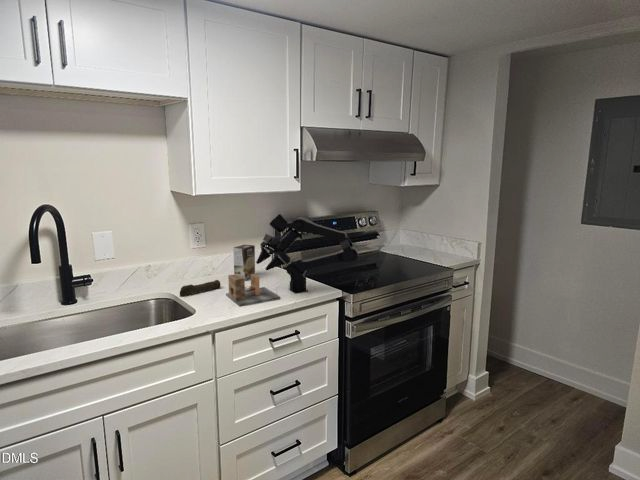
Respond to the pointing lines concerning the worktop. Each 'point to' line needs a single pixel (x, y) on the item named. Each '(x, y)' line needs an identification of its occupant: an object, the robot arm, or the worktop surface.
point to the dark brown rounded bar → (199, 288)
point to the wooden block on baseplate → (247, 298)
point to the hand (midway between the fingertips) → (261, 266)
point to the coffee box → (244, 261)
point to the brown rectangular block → (254, 285)
